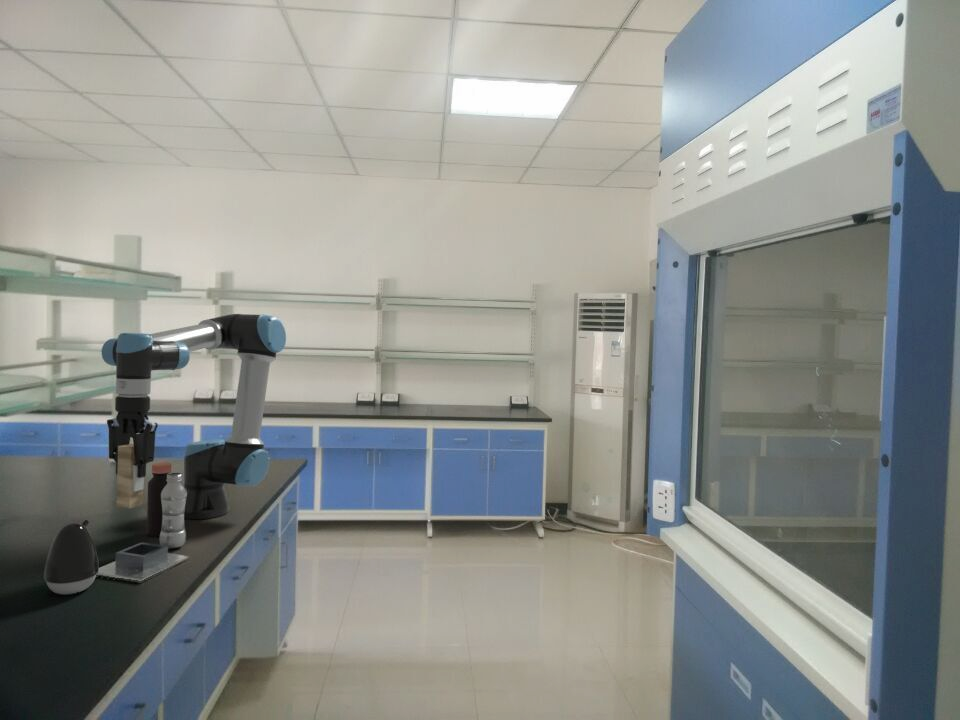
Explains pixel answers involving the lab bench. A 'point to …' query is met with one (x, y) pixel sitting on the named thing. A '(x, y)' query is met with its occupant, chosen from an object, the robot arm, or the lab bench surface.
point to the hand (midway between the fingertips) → (130, 488)
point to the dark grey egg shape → (71, 560)
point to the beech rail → (127, 478)
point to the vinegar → (156, 497)
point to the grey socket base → (140, 562)
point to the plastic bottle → (173, 512)
